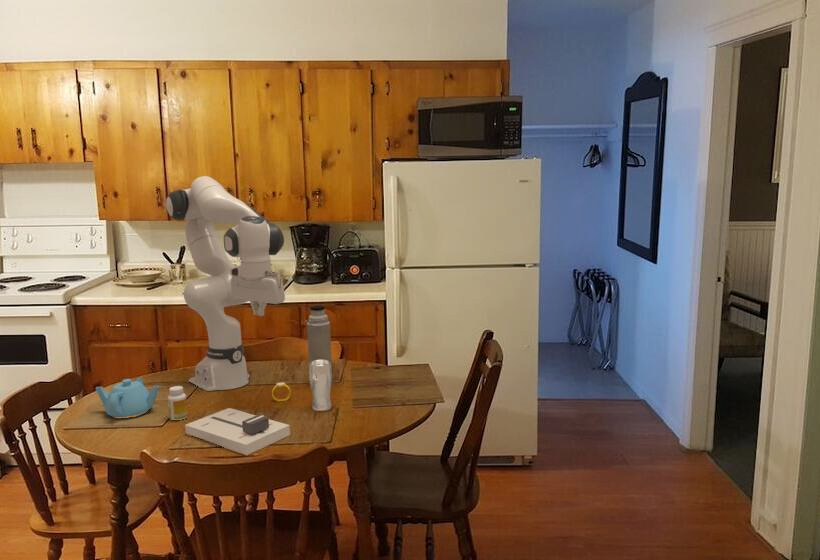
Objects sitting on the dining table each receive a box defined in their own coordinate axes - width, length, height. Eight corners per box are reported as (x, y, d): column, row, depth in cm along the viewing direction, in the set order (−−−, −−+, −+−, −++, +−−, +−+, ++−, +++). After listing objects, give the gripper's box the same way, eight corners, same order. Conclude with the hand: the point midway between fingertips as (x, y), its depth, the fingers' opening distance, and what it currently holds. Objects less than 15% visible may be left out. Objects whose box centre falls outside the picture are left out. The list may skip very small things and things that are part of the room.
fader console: (185, 434, 192) (185, 424, 191) (229, 417, 205) (229, 407, 204) (246, 455, 177) (245, 444, 177) (290, 435, 190) (289, 424, 189)
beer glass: (329, 412, 207) (326, 366, 204) (307, 411, 208) (305, 365, 206) (335, 404, 213) (333, 359, 211) (315, 403, 215) (313, 358, 212)
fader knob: (242, 431, 184) (242, 421, 184) (259, 424, 189) (258, 414, 189) (252, 434, 182) (251, 423, 182) (269, 427, 187) (268, 416, 186)
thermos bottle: (319, 379, 239) (315, 303, 234) (337, 382, 235) (333, 305, 230) (305, 386, 232) (301, 307, 227) (323, 389, 228) (319, 309, 223)
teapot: (96, 412, 212) (92, 380, 210) (143, 400, 222) (140, 369, 220) (113, 425, 201) (109, 391, 199) (162, 412, 211) (159, 379, 209)
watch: (273, 403, 216) (270, 386, 215) (273, 400, 219) (270, 383, 218) (291, 400, 218) (289, 383, 216) (291, 398, 220) (289, 380, 219)
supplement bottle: (191, 415, 207) (189, 385, 205) (180, 422, 202) (177, 391, 200) (177, 414, 208) (174, 384, 207) (165, 420, 203) (163, 390, 202)
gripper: (288, 271, 197) (290, 316, 200) (242, 266, 209) (244, 309, 211) (272, 274, 192) (275, 321, 195) (226, 269, 204) (229, 313, 206)
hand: (259, 315), depth 203 cm, fingers closed
